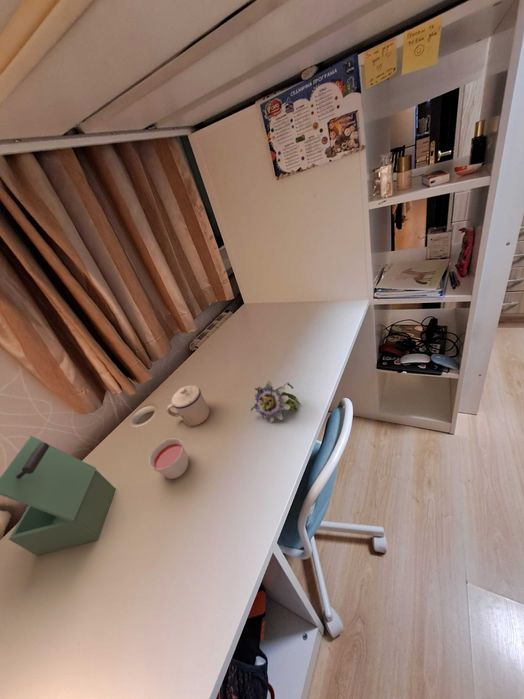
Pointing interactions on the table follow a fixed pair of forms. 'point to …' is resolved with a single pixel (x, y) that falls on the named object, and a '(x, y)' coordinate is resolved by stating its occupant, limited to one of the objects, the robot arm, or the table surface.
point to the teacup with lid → (189, 405)
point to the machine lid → (47, 479)
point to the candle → (169, 458)
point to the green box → (65, 522)
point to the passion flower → (273, 401)
